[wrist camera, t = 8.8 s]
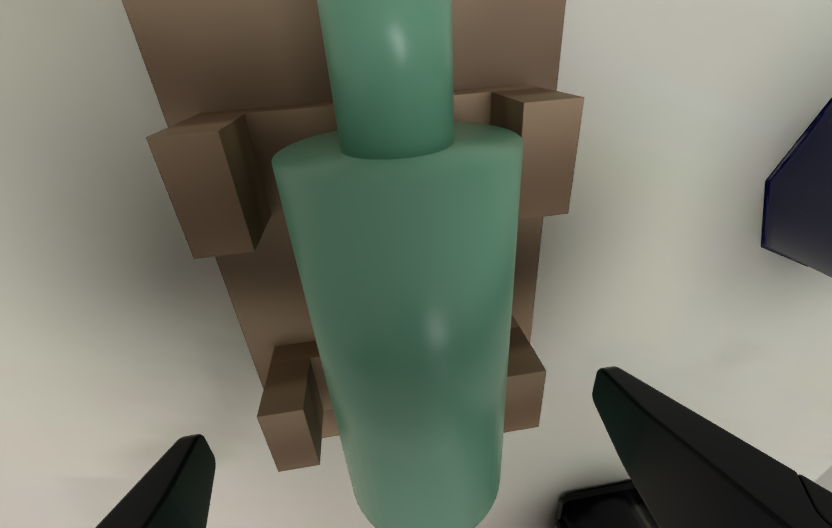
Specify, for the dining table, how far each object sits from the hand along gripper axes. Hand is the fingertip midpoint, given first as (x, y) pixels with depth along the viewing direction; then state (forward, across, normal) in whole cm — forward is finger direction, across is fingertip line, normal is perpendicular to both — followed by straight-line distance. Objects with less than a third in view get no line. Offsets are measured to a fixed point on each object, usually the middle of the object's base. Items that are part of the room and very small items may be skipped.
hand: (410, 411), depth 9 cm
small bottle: (+6, 0, -1) cm, 6 cm away
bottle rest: (+8, 0, 0) cm, 8 cm away
